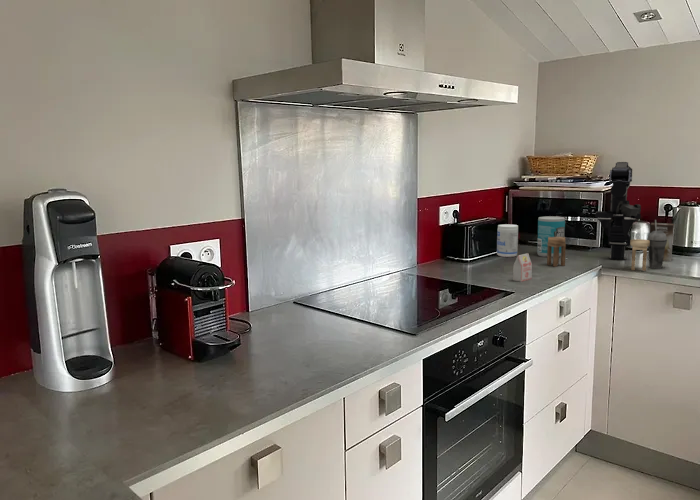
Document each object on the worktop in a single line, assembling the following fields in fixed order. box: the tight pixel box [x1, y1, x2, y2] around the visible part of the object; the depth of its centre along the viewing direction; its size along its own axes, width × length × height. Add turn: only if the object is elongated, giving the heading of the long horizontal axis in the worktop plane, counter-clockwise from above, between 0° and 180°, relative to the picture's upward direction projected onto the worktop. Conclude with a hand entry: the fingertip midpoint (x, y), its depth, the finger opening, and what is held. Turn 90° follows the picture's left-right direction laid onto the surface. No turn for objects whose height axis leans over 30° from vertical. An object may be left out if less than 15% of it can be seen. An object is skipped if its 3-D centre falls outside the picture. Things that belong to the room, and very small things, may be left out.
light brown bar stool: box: [630, 238, 650, 272], centre depth 230 cm, size 7×7×12 cm
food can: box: [536, 215, 566, 258], centre depth 266 cm, size 12×12×18 cm
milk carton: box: [512, 252, 533, 283], centre depth 217 cm, size 4×7×10 cm, turn 128°
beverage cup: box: [646, 219, 667, 270], centre depth 231 cm, size 7×7×20 cm
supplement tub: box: [496, 223, 519, 258], centre depth 269 cm, size 10×10×15 cm
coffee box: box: [647, 222, 675, 262], centre depth 249 cm, size 9×6×16 cm
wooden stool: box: [546, 236, 567, 268], centre depth 243 cm, size 7×7×12 cm
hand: (616, 236), depth 231 cm, fingers open, 9 cm apart
